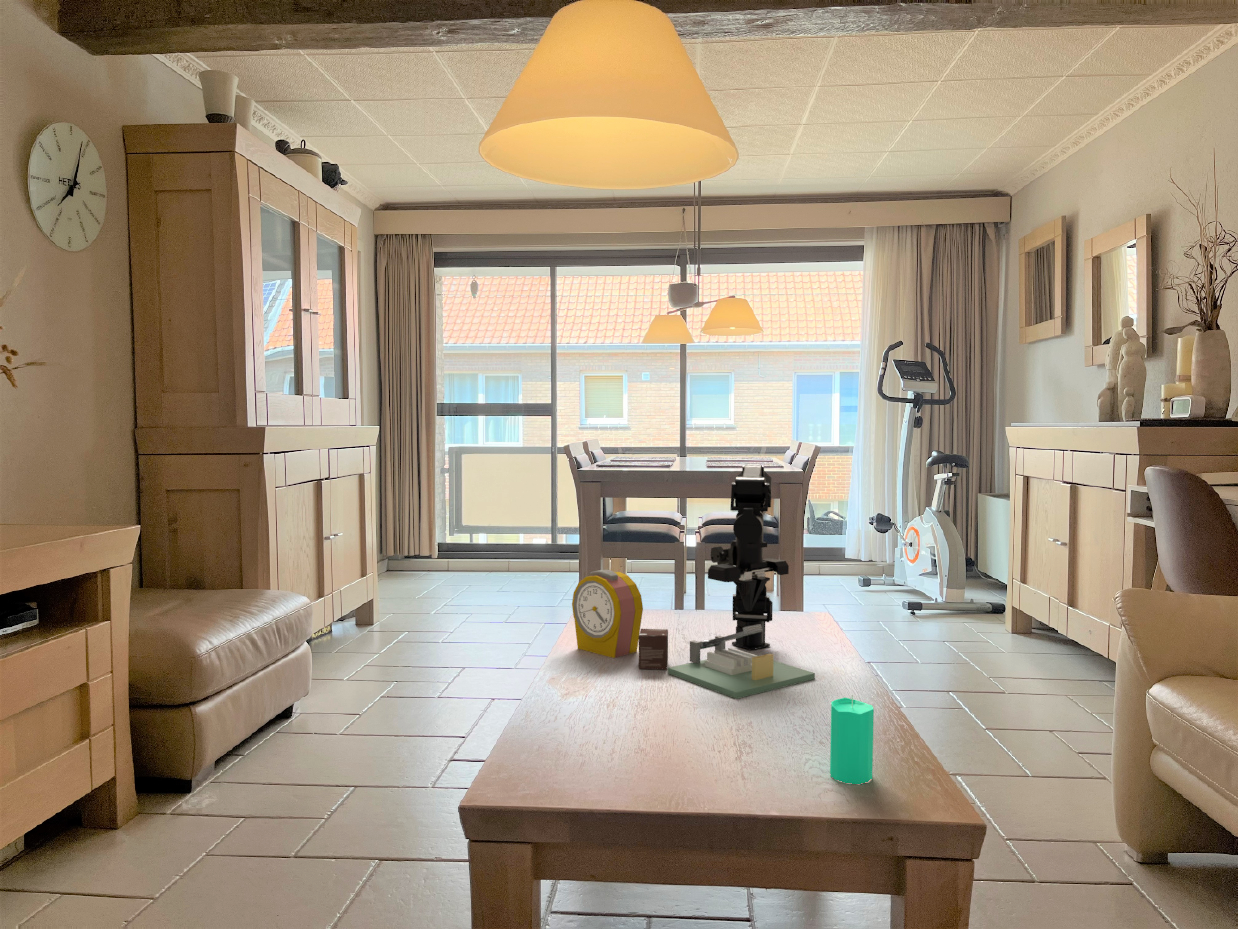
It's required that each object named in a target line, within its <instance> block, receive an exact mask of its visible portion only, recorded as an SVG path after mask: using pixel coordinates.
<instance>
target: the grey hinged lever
mask: <svg viewBox="0 0 1238 929" xmlns="http://www.w3.org/2000/svg"><path fill="white" fill-rule="evenodd" d="M762 631H763V630H762V627H761V624H758V625H753V626H747V627H743V632H739V633H736V632H735V633H733V634H729V635H725V636H722V637H721V638H718V639H715V638H711V639H706V640H702V641H699V642H700V650H705V649H709V648H710V649H711V648H715V646H718V645H719V643H722V642H725V643H726V642H728V641H729V642H730V641H733V640H736V639H737V638H740V637H744V636H748V635H751V634H755V633H759V632H762Z"/></svg>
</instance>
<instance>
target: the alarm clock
mask: <svg viewBox="0 0 1238 929" xmlns="http://www.w3.org/2000/svg"><path fill="white" fill-rule="evenodd" d="M571 606H572V608H571V609H572V614H573V620H574V626H575V634H576V643H577V645H576V646H577V650H582V651H586V652H589V653H593V654H597V655H601V656H604V657H608V658H612V659H615V658H620V657H623V656H626V655H629V654H635V653H637V652H638V648H639V634H640V630H641V624H642V619H643V612H644V607H643V599H642V595H641V592H640V589H639V588H638V585H637V583H636V582H634V580H633V579H632V578H631V577H630V576H629V574H628V575H627V574H625V573H623V572H620V571H613V570H610V569H600V570H593V571H590V572H589V575H588V576H586V577H584V578H583V579H582V580H580V581H579V582H578V584H577V585H576V587H575V589H574V590H573V594H572V602H571Z"/></svg>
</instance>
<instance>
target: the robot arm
mask: <svg viewBox="0 0 1238 929" xmlns="http://www.w3.org/2000/svg"><path fill="white" fill-rule="evenodd" d="M741 470H742V471H741V472H740V473H739V474H738V475H737V476H736V477H735V479H734V481H733V482H731V493H730V509H729V510H730V512H731V511H737V513H736V514H735V521H734V523H733V526H732V531H733V533H734V534H733V535H734V536H735V540H731V542H730V547H729V548H725V549H724V548H723V547H722V546H720V545H719V546H714V547H711V549H710V559H711V562H712V563H713V564H711V565H710V566H709V568H708V569H707V579H708V580H713V581H718V582H723V583H734V585H735V586H736V587H735V593H734V594H732V621H734V622H735V621H736V627H735V633H739V632H743V627H747V626H753V625H758V624H761V627H762V630H763V631H762V632H759V633H755V634H751V635H748V636H744V637H740V638H737V639H735V641H732V642H731V645H733V646H736V647H739V648H743V649H746V650H751V651H753V650H758V649H761V648H762V649H763V648H766V647H767V648H768V647H770V646H771V644H770V643H768V642H766V623H770V622H772V621H773V601H772V600H771V598H770V597H771V596H770V595H767V593H768V592H767V591H768V590H767V585H766V584H767V582H769V581H771V578H770V577H767V576H766V573H769V572H774V573H777V575H779V576H784V575H789V569H790V568H789V567H790V565H789V564H788V562H787V561H786V560H783V559H777V558H772V557H771V558H768V557H767V558H764V548H768V542H767V541H764V515H765V514H766V513H767V512H768V511H769V508H771V507H772V492H773V491H772V490H773V489H772V480H773V479H772V477H771V476H770V475H769V474H768V472H766V471H765V466H764V465H762V464H754V463H753V464H749V463H748V464H744V465H742V469H741ZM714 563H717V564H714Z"/></svg>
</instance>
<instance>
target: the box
mask: <svg viewBox="0 0 1238 929" xmlns="http://www.w3.org/2000/svg"><path fill="white" fill-rule="evenodd" d="M668 663H669V629H667V628H666V629H664V628H663V629H661V628H659V629H657V628H640V633H639V640H638V669H639V670H666V671H668Z"/></svg>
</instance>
